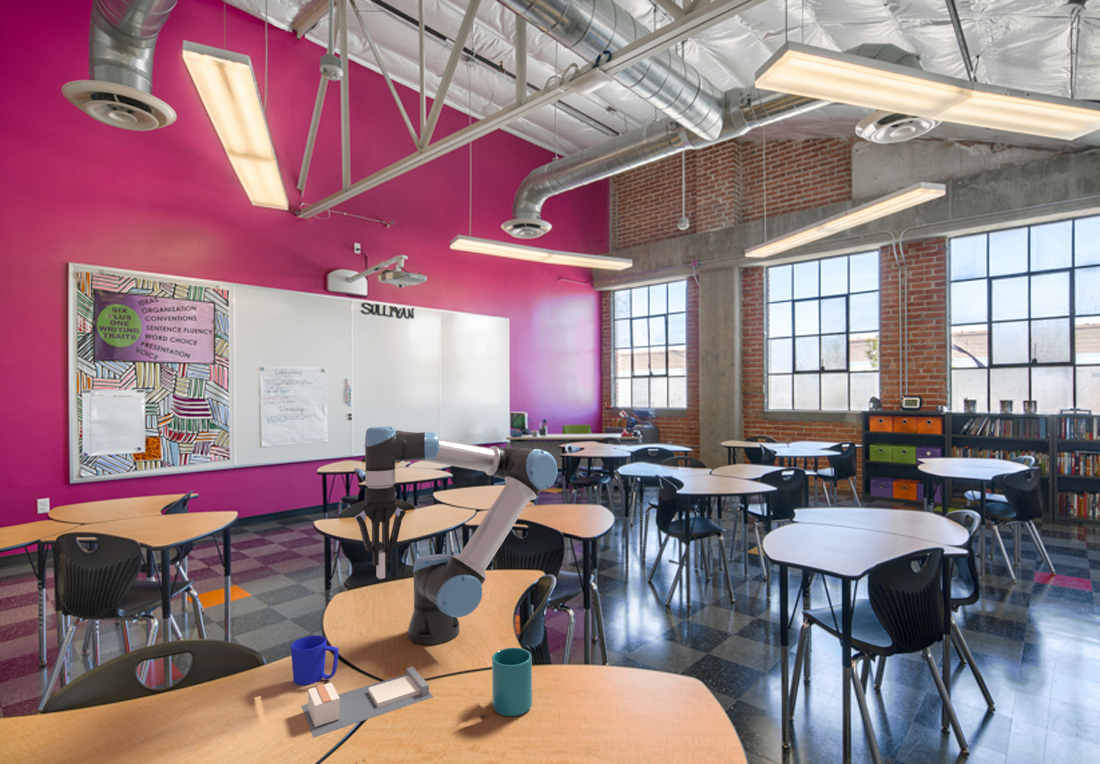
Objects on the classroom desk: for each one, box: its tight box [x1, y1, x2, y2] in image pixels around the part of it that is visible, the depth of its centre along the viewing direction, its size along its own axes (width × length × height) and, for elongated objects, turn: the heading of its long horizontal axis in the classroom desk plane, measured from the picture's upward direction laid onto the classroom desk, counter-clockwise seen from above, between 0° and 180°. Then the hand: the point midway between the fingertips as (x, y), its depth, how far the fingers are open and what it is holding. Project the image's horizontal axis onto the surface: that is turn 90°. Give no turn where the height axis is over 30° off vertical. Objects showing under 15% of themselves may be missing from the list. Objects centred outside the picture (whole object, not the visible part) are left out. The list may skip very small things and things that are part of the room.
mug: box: [290, 635, 340, 686], centre depth 134 cm, size 8×12×10 cm
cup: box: [491, 647, 533, 717], centre depth 124 cm, size 9×12×11 cm
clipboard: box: [301, 665, 434, 738], centre depth 123 cm, size 26×14×3 cm, turn 124°
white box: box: [307, 682, 340, 727], centre depth 118 cm, size 5×8×5 cm, turn 34°
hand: (380, 576), depth 139 cm, fingers closed
